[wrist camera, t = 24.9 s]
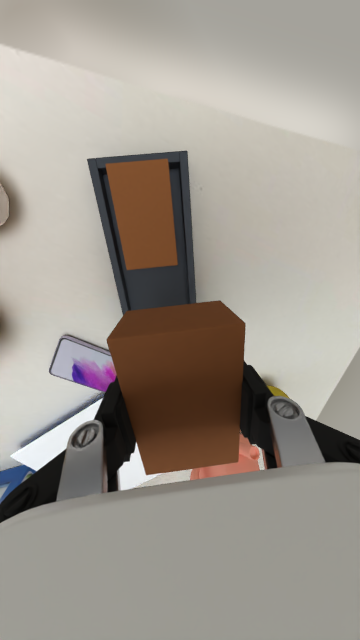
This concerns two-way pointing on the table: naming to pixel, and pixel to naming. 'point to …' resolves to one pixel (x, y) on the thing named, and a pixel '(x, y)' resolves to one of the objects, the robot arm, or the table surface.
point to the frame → (176, 280)
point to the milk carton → (13, 479)
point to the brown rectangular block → (144, 212)
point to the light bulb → (3, 206)
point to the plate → (57, 441)
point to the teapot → (244, 464)
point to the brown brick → (181, 383)
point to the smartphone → (83, 364)
